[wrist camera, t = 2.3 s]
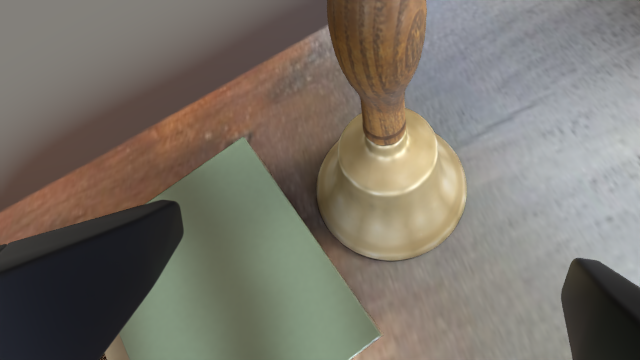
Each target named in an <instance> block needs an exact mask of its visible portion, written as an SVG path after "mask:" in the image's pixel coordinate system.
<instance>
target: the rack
mask: <svg viewBox="0 0 640 360" xmlns="http://www.w3.org/2000/svg"><path fill="white" fill-rule="evenodd" d="M158 200H171V201H176V202H177V203H178V204H179V205H180V209H181V215H182V221H183V227H184V234H183V238H182V240H181V242H180V243H179V245H178V247H177V248H176V250H175V252H174V253H173V255H172V257H171V258H170V260H169V262H168V263H167V265H166V267H165V268H164V270H163V272H162V274H161V275H160V277H159V279H158V280H157V282H156V283H155V285H154V286H153V288H152V289H151V291H150V292H149V294H148V295H147V296H146V298H145V299H144V300H143V302H142V303H141V304H140V306H139V307H138V308H137V310H136V311H135V313H134V314H133V315H132V317H131V318H130V319H129V321H128V322H127V323H126V325H125V326H124V327H123V329H122V330H121V331H120V333H119V334H118V335H117V337H116V338H115V339H114V341H113V342H112V344H111V345H110V346H109V348H108V349H107V350H106V352H105V356H106V358H107V360H351V359H353V358H354V357H355V356H357V355H358V354H359V353H361V352H362V351H363V350H365V349H366V348H367V347H369V346H370V345H371V344H373V343H374V342H375V341H376V340H378V339H379V338H380V337H382V336H383V333H382V332H381V330H380V329H379V327H378V326H377V325H376V323H375V322H374V320H373V319H372V317H371V316H370V315H369V314H368V313H367V312H366V311H365V309H364V308H363V306H362V305H361V303H360V302H359V301H358V299H357V298H356V296H355V295H354V293H353V292H352V291H351V289H350V288H349V286H348V285H347V283H346V282H345V281H344V279H343V278H342V276H341V275H340V273H339V272H338V270H337V269H336V268H335V266H334V265H333V263H332V262H331V260H330V259H329V258H328V256H327V255H326V253H325V252H324V250H323V249H322V247H321V246H320V245H319V243H318V242H317V240H316V239H315V237H314V236H313V235H312V233H311V232H310V230H309V229H308V227H307V226H306V225H305V223H304V222H303V220H302V219H301V217H300V216H299V214H298V213H297V212H296V210H295V209H294V207H293V206H292V204H291V203H290V202H289V200H288V199H287V197H286V196H285V194H284V193H283V192H282V190H281V189H280V187H279V186H278V184H277V183H276V181H275V180H274V179H273V177H272V174H271V173H270V171H269V170H268V168H267V167H266V166H265V164H264V163H263V161H262V160H261V159H260V157H259V156H258V155H257V154H256V152H255V151H254V150H253V148H252V147H251V146H250V144H249V143H248V142H247V140H246V139H245V138H244V137H242V138H240V139H239V140H237V141H236V142H235V143H233V144H232V145H230V146H229V147H227V148H226V149H224V150H223V151H221V152H220V153H219V154H217V155H216V156H214V157H213V158H211V159H210V160H208V161H207V162H205V163H204V164H203V165H201V166H200V167H198V168H197V169H195V170H194V171H192V172H191V173H190V174H188V175H187V176H185V177H184V178H182V179H181V180H179V181H178V182H176V183H175V184H174V185H172V186H171V187H169V188H168V189H166V190H165V191H163V192H162V193H160V194H159V195H158V196H156V197H155V198H153V199H152V200H150V201H149V202H147V203H146V204H148V203H151V202H155V201H158Z"/></svg>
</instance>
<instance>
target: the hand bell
mask: <svg viewBox="0 0 640 360" xmlns="http://www.w3.org/2000/svg"><path fill="white" fill-rule="evenodd" d="M426 14H427V8H426V0H327V16H328V26H329V31H330V36H331V40H332V44H333V48H334V51H335V55H336V57H337V60H338V62H339V65H340V67H341V69H342V71H343V73H344V75H345V76H346V78H347V80H348V81H349V83H350V85H351V86H352V87H353V88H354V89H355V90H356V92H357V93H358V94H359V96H360V99H361V108H362V113H361V114H359V115H357V116H356V117H355V118H354V119H353V120H351V122H350V123H349V124H348V125H347V126H346V128H345V129H344V131H343V133H342V135H341V137H340V140H339V141H338V142H337V143H336V144H335V145H334V146H333V147H332V148H331V150H330V151H329V152H328V154H327V155H326V157H325V159H324V161H323V163H322V165H321V168H320V171H319V174H318V178H317V191H316V192H317V202H318V207H319V210H320V213H321V216H322V218H323V220H324V222H325V224H326V226H327V227H328V229H329V230H330V231H331V233H332V234H333V235H334V236H335V237H336V238H337V239H338V240H339V241H340V242H341V243H342V244H344V245H345V246H346V247H348V248H349V249H351V250H353V251H355V252H357V253H359V254H361V255H364V256H366V257H370V258H373V259H379V260H388V261H396V260H404V259H409V258H413V257H417V256H419V255H422V254H424V253H426V252H428V251H430V250H432V249H434V248H435V247H437V246H438V245H439V244H441V243H442V242H443V241H444V240H445V239H446V238H447V237H448V236H449V235H450V234H451V233H452V232H453V230H454V229H455V227H456V226H457V224H458V222H459V220H460V218H461V216H462V213H463V211H464V208H465V203H466V197H467V184H466V177H465V173H464V169H463V167H462V164H461V162H460V160H459V158H458V156H457V155H456V153H455V152H454V150H453V149H452V148H451V147H450V145H449V144H448V143H447V142H446V141H445V140H443V139H442V138H441V137H440V136H439V135H437V134H436V133H434V132H433V129H432V128H431V126H430V125H429V124H428V122H427V121H426V120H425V119H424V118H423V117H421V116H420V115H419V114H417V113H416V112H414V111H412V110H409V109H407V108H405V104H404V94H405V89H406V87H407V86H408V84H409V82H410V81H411V79H412V77H413V75H414V73H415V71H416V69H417V66H418V63H419V60H420V57H421V52H422V48H423V43H424V38H425V30H426Z"/></svg>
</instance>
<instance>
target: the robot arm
mask: <svg viewBox="0 0 640 360" xmlns="http://www.w3.org/2000/svg"><path fill="white" fill-rule="evenodd" d="M183 234H184V227H183V221H182V215H181V209H180V205H179V204H178V203H177V202H176V201H171V200H158V201H155V202H151V203H148V204H144V205H141V206H137V207H133V208H130V209H126V210H123V211H119V212H116V213H112V214H109V215H105V216H102V217H98V218H95V219H91V220H88V221H84V222H81V223H77V224H74V225H70V226H67V227H63V228H60V229H56V230H53V231H49V232H46V233H42V234H39V235H35V236H32V237H28V238H25V239H21V240H18V241H14V242H11V243H9V244H8V245H6V244H3V245H0V360H100V358H101V357H102V356H103V354H104V353H105V352H106V350H107V349H108V348H109V346H110V345H111V344H112V342H113V341H114V339H115V338H116V337H117V335H118V334H119V333H120V331H121V330H122V329H123V327H124V326H125V325H126V323H127V322H128V321H129V319H130V318H131V317H132V315H133V314H134V313H135V311H136V310H137V308H138V307H139V306H140V304H141V303H142V302H143V300H144V299H145V298H146V296H147V295H148V294H149V292H150V291H151V289H152V288H153V286H154V285H155V283H156V282H157V280H158V279H159V277H160V275H161V274H162V272H163V270H164V268H165V267H166V265H167V263H168V262H169V260H170V258H171V257H172V255H173V253H174V252H175V250H176V248H177V247H178V245H179V243H180V242H181V240H182V238H183ZM561 301H562V307H563V312H564V317H565V322H566V327H567V332H568V337H569V343H570V348H571V353H572V358H573V360H640V287H638V286H637V285H635V284H634V283H632V282H630V281H629V280H627V279H626V278H624V277H623V276H621V275H620V274H618V273H616V272H615V271H613V270H612V269H610V268H609V267H607V266H606V265H604V264H602V263H601V262H599V261H596V260H590V259H583V258H576V259H574V260H573V261H572V262H571V265H570V267H569V270H568V273H567V276H566V279H565V282H564V285H563V288H562V293H561Z"/></svg>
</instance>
